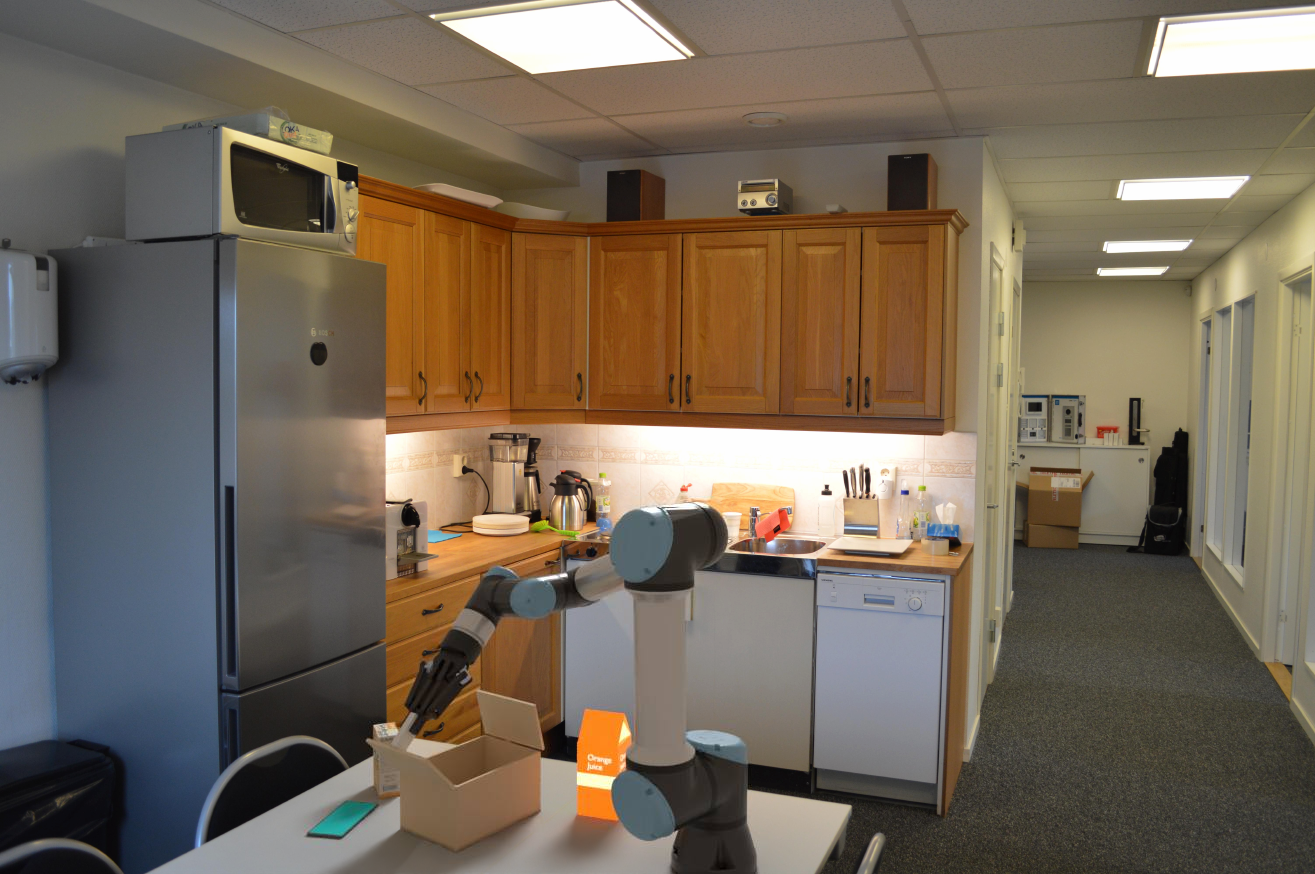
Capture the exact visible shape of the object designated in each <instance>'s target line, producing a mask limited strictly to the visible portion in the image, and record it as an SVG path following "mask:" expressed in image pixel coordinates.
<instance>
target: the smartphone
mask: <svg viewBox="0 0 1315 874" xmlns="http://www.w3.org/2000/svg"><path fill="white" fill-rule="evenodd" d="M378 807H379V803H378V802H368V801H367V802H366V801H355V800H345V801H344V802H342V803H341V804H340V805H339V806H338V807H337V808H335V809H334V810H333V811H331V812H330V813H329V814H328V815H327V816H326V817H325V818H323V819H322V820H321V821H319V822H318V823H317V824H316V825H315V826H313V827H312V828H311V829H310V830H309V831H307V832H306V836H307V837H315V838H327V839H337V840H340V839H341V840H342V839H344V838H346V836H347V835H349V833H351V832H352V831H353V830H354V829H355V828H356V827H357V826H358V825H359V824H360V823H361V822H363V821H364V820H366V818H368V817H369V815H371V814H373V812H374V811H375V810H376V809H377V808H378Z"/></svg>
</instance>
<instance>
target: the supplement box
mask: <svg viewBox="0 0 1315 874" xmlns="http://www.w3.org/2000/svg"><path fill="white" fill-rule="evenodd" d="M372 727H373V728H372V738H373V739H372V740H375V741H377V742H380V743H383V744H386V745H389V746H392V745H391V742H392V741H393V739H394V738H395V736H396V735H397V733H398V732H399V730H400V729H399V728H398V726H397V725H396V722H395V721H393V722H386V723H378V724H374V725H372ZM392 747H393V746H392ZM372 750H373V752H372V754H373V755H372V756H373V757H372V758H373V761H372V762H373V764H372V765H373V770H372V771H373V786H374V788H375V791H376V792H377V796H378V798H379V800H380V799H385V798H387V799H388V798H391V797H397V796H400V770H397V769H395V768H394V767H393V766H392V765H391V764H390V763H389V762H388V761H387V760H385V759H384V758H383V757H382V756H381V755H380V754H379V753H378V752H377V751H376V750H375V749H374V748H373V747H372Z"/></svg>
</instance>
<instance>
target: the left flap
mask: <svg viewBox="0 0 1315 874" xmlns="http://www.w3.org/2000/svg"><path fill="white" fill-rule="evenodd" d="M365 742H366V743H367V745H369V746H370V747H371V748H372V749H373V748H374V749H375V750H376V751H377V752H378V753H379V754H380V755H381V756H382V757H383V758H384V759H385V760H387V761H388V762H389V763H390V764H391V765H392V766H393V767H394V768H395V769H397V770H400V771H402V772H405V773H408V774H411V775H414V776H416V777H419V778H422V779H425V780H427V781H430V782H433V783H436V784H438V785H441V786H444V787H447V788H450V789H452V790H455V789H456V786H455V785H454V784H453V783H452V782H450V781H449V780H448V779H447V778H446V777H445V776H444V775H443V774H442V773H441V772H440V771H439V770H438V769H437V768H436V767H435V766H434V765H433V764H432V763H431V762H430V761H429V760H428V759H427V758H425V757H426V756H425V757H424V756H421V755H419V754H415V753H412V752H410V751H407V750H406V751H404V750H401V749H398V748H395V747H392V746H389V745H386V744H383V743H380V742H377V741H375V740H373V739H372V738H370V737H369V738H366V740H365Z"/></svg>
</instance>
